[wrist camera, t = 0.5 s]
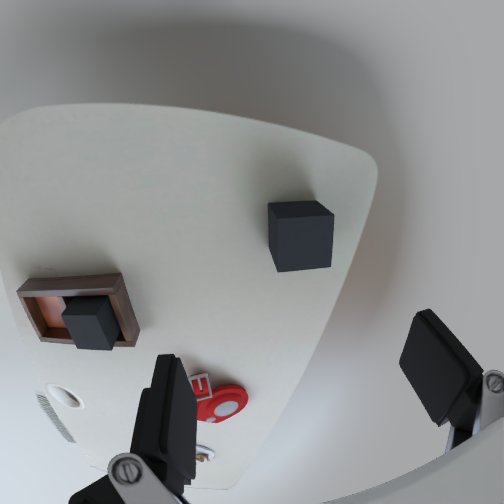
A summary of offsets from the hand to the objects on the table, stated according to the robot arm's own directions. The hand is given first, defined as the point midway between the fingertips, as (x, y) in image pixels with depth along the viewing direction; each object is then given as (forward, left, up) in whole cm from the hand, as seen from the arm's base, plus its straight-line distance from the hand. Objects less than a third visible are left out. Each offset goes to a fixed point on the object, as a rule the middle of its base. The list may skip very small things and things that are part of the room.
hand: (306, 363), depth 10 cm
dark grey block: (+1, +4, -19) cm, 20 cm away
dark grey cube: (+9, -19, -18) cm, 28 cm away
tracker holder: (+26, -7, -19) cm, 34 cm away
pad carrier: (+9, -23, -19) cm, 32 cm away
